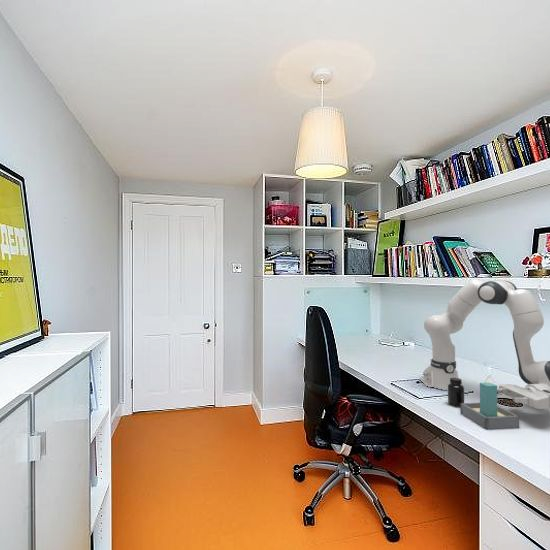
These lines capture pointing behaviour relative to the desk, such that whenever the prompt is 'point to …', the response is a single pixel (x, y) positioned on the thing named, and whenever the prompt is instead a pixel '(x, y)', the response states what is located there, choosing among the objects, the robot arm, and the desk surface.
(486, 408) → the peg
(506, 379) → the desk surface
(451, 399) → the supplement bottle
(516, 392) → the robot arm
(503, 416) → the open box
